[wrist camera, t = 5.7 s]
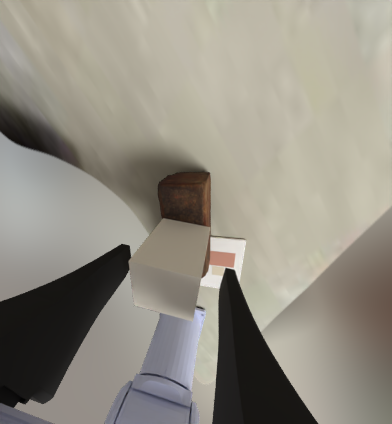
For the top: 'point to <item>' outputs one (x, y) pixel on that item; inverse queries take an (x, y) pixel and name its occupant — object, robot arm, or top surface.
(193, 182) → the brick
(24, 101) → the top surface
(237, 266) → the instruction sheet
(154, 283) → the cream block
